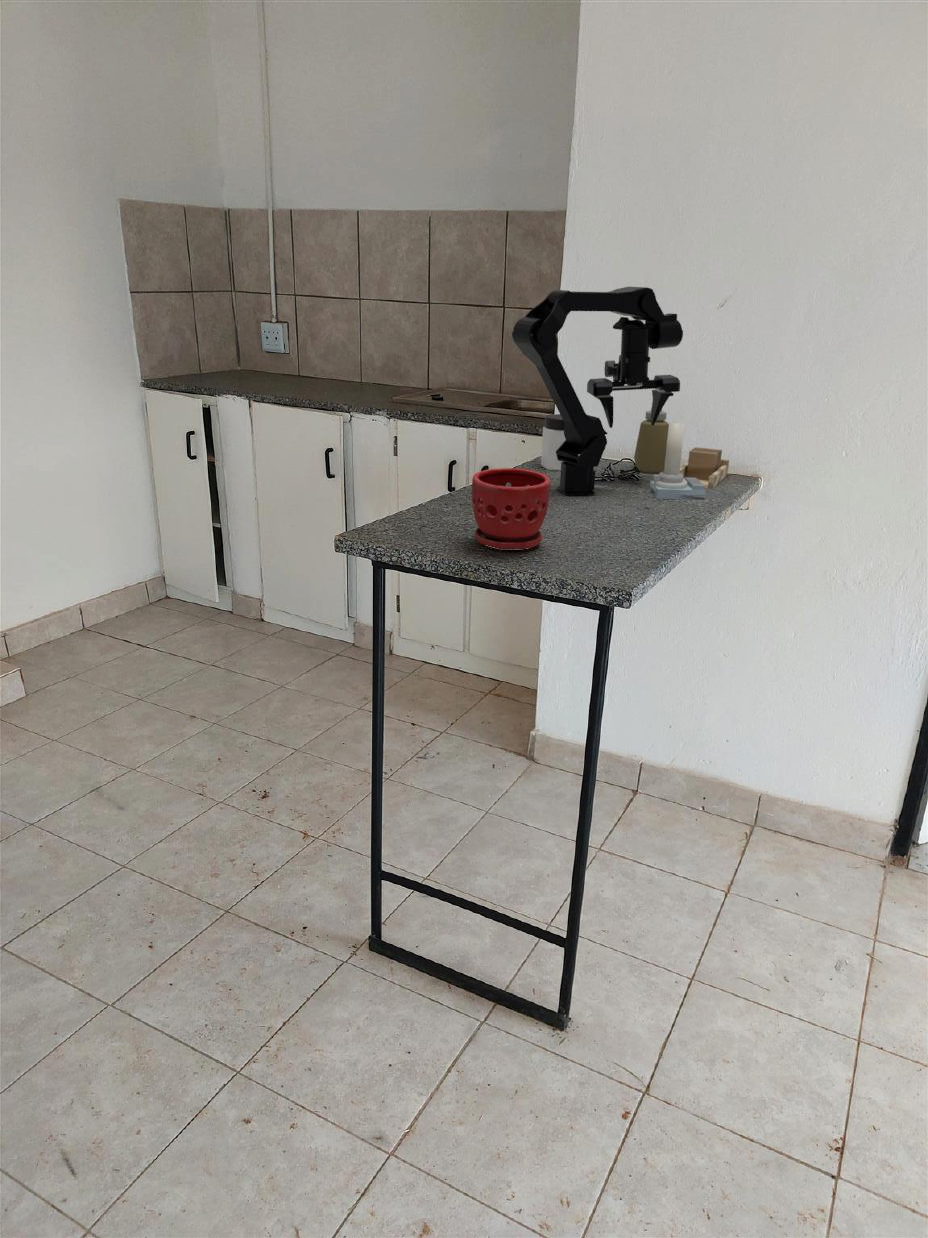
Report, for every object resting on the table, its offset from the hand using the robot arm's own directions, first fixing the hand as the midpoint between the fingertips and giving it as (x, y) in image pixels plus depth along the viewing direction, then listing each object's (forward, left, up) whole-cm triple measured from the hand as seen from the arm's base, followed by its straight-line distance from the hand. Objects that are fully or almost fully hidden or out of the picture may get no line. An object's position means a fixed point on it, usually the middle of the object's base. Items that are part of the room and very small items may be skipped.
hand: (631, 426), depth 193 cm
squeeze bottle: (+11, +12, -13) cm, 21 cm away
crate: (+20, +3, -12) cm, 23 cm away
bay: (+18, +1, -13) cm, 22 cm away
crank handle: (+6, -8, -10) cm, 15 cm away
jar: (-8, +22, -13) cm, 27 cm away
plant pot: (-38, -38, -14) cm, 56 cm away
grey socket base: (+8, -8, -13) cm, 18 cm away
